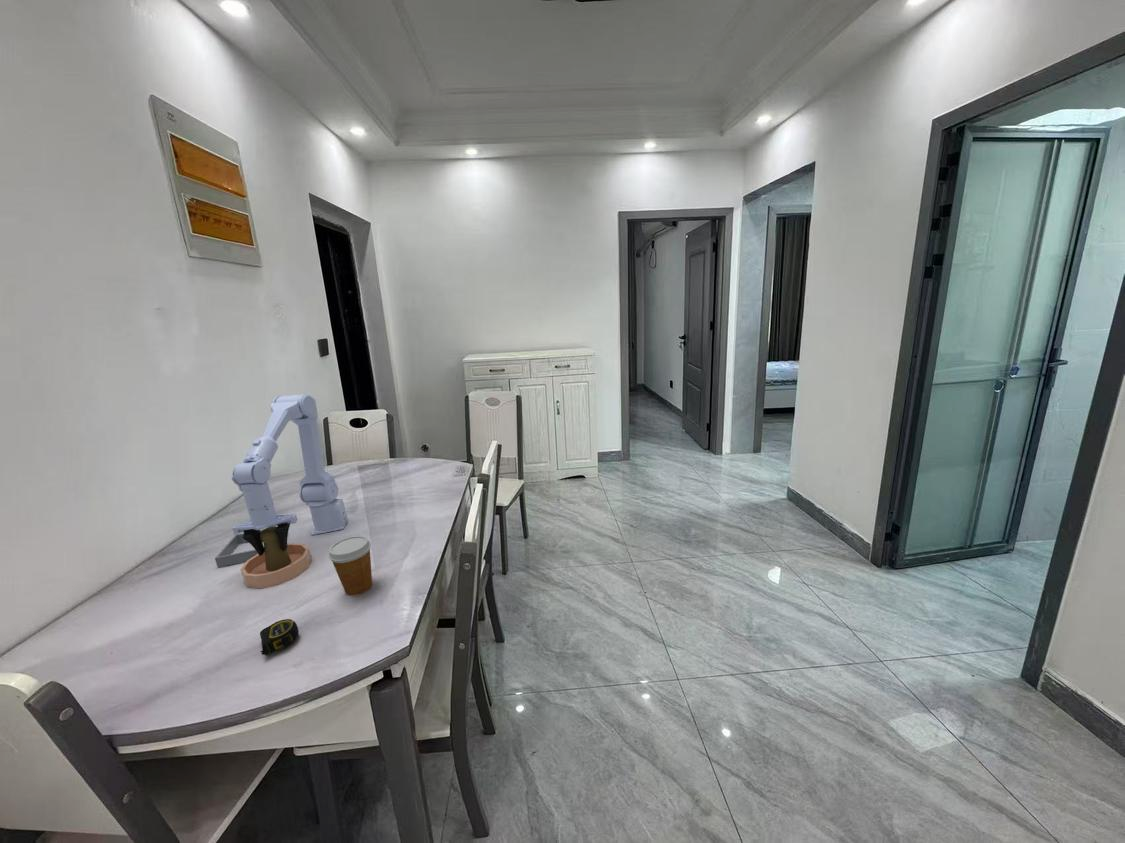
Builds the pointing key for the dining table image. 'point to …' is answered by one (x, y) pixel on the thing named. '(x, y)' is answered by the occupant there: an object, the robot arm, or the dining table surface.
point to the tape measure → (278, 636)
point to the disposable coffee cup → (352, 564)
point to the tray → (228, 558)
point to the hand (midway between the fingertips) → (273, 551)
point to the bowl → (261, 577)
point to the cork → (273, 550)
